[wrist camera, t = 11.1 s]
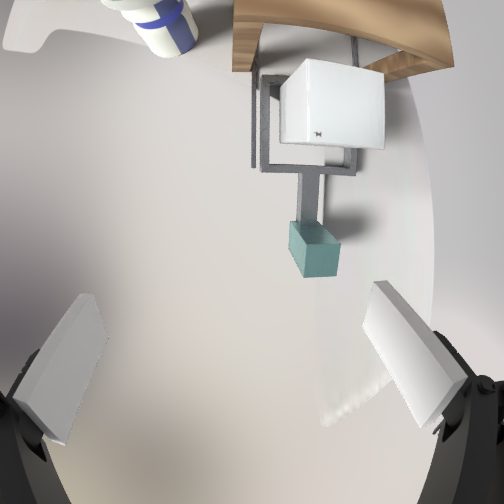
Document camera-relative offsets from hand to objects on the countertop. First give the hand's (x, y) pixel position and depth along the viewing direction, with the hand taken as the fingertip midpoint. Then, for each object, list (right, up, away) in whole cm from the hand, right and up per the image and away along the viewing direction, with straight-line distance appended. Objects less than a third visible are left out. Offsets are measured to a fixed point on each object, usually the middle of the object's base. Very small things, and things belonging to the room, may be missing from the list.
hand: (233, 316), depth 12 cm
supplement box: (+9, +23, +24) cm, 35 cm away
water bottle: (-11, +35, +18) cm, 41 cm away
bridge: (+9, +35, +19) cm, 41 cm away
